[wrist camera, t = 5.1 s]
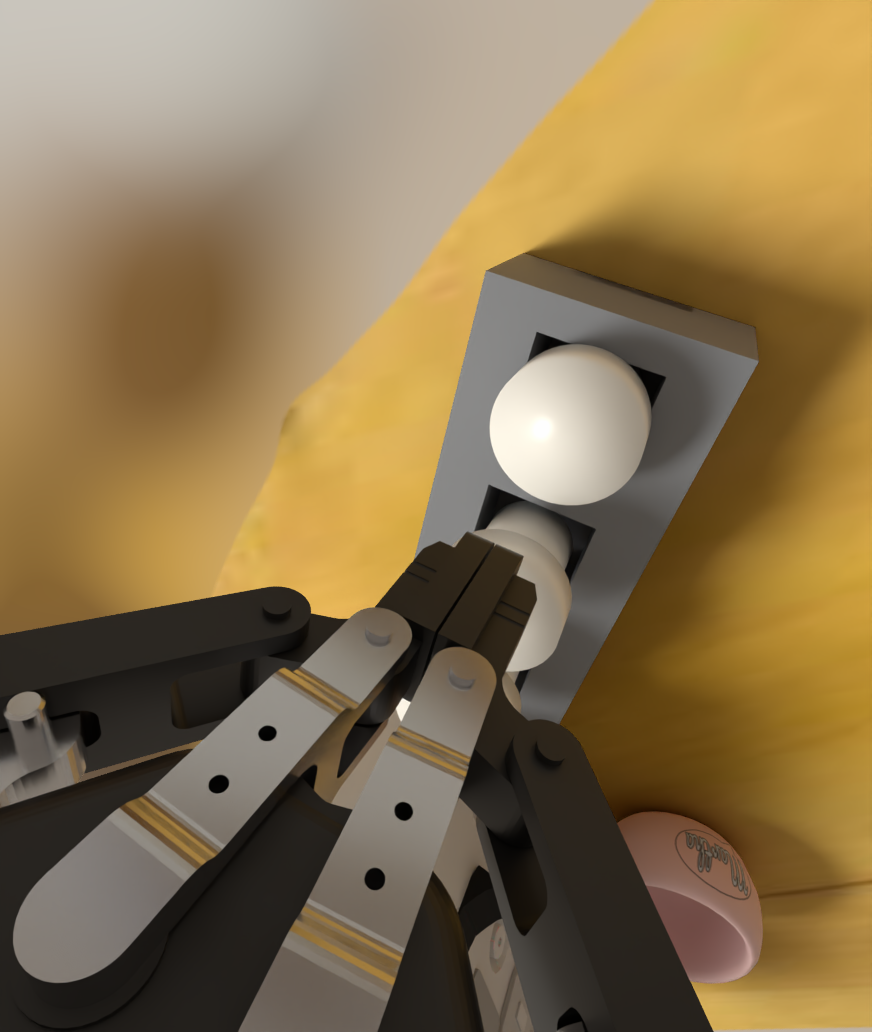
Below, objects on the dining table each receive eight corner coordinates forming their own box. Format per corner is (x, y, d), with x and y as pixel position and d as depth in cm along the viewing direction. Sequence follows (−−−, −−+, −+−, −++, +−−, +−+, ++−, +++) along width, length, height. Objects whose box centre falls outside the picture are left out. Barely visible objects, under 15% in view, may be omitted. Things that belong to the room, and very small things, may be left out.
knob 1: (685, 346, 24) (673, 392, 20) (630, 463, 27) (608, 527, 23) (554, 302, 25) (513, 336, 21) (517, 419, 29) (473, 471, 24)
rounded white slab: (606, 929, 48) (552, 1252, 34) (516, 905, 52) (433, 1189, 38) (531, 645, 37) (404, 952, 23) (423, 641, 41) (255, 902, 26)
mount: (755, 327, 24) (758, 361, 20) (570, 676, 37) (550, 739, 33) (523, 253, 26) (485, 270, 22) (424, 607, 39) (389, 658, 35)
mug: (791, 844, 36) (799, 946, 32) (717, 913, 42) (715, 1008, 37) (600, 753, 39) (581, 834, 34) (554, 829, 45) (533, 908, 40)
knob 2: (609, 515, 26) (581, 594, 21) (566, 605, 29) (534, 692, 25) (491, 467, 27) (440, 532, 23) (462, 559, 31) (412, 633, 26)
